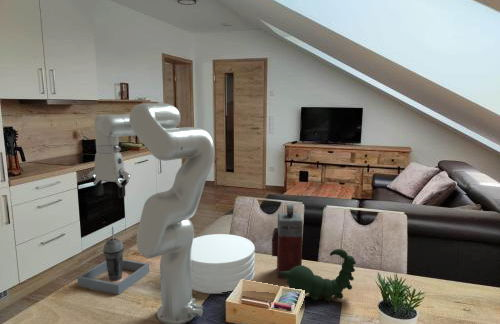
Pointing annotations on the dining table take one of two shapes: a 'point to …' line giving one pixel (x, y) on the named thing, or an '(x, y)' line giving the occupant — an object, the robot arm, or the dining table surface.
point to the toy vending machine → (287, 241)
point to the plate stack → (221, 262)
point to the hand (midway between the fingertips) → (110, 196)
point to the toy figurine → (317, 285)
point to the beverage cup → (114, 258)
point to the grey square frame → (113, 286)
